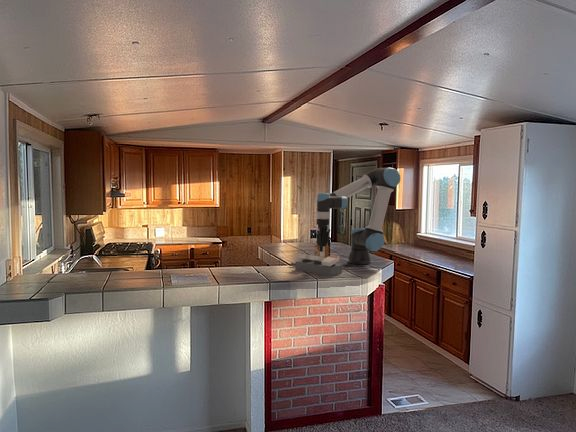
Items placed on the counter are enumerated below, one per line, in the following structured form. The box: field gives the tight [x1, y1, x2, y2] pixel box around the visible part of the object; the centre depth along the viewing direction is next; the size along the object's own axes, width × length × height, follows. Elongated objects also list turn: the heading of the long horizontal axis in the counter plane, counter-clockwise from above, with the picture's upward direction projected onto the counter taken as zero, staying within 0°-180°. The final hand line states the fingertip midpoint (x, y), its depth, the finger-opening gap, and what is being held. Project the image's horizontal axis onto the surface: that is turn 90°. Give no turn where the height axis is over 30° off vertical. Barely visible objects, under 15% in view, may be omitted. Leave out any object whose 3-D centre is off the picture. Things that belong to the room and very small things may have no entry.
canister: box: [314, 236, 332, 261], centre depth 288 cm, size 9×11×20 cm
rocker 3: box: [321, 254, 341, 266], centre depth 264 cm, size 10×6×3 cm, turn 139°
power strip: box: [290, 258, 343, 277], centre depth 273 cm, size 11×35×6 cm, turn 49°
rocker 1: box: [297, 252, 312, 260], centre depth 276 cm, size 10×6×3 cm, turn 140°
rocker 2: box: [309, 254, 326, 261], centre depth 270 cm, size 10×6×3 cm, turn 140°
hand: (322, 256), depth 273 cm, fingers closed
